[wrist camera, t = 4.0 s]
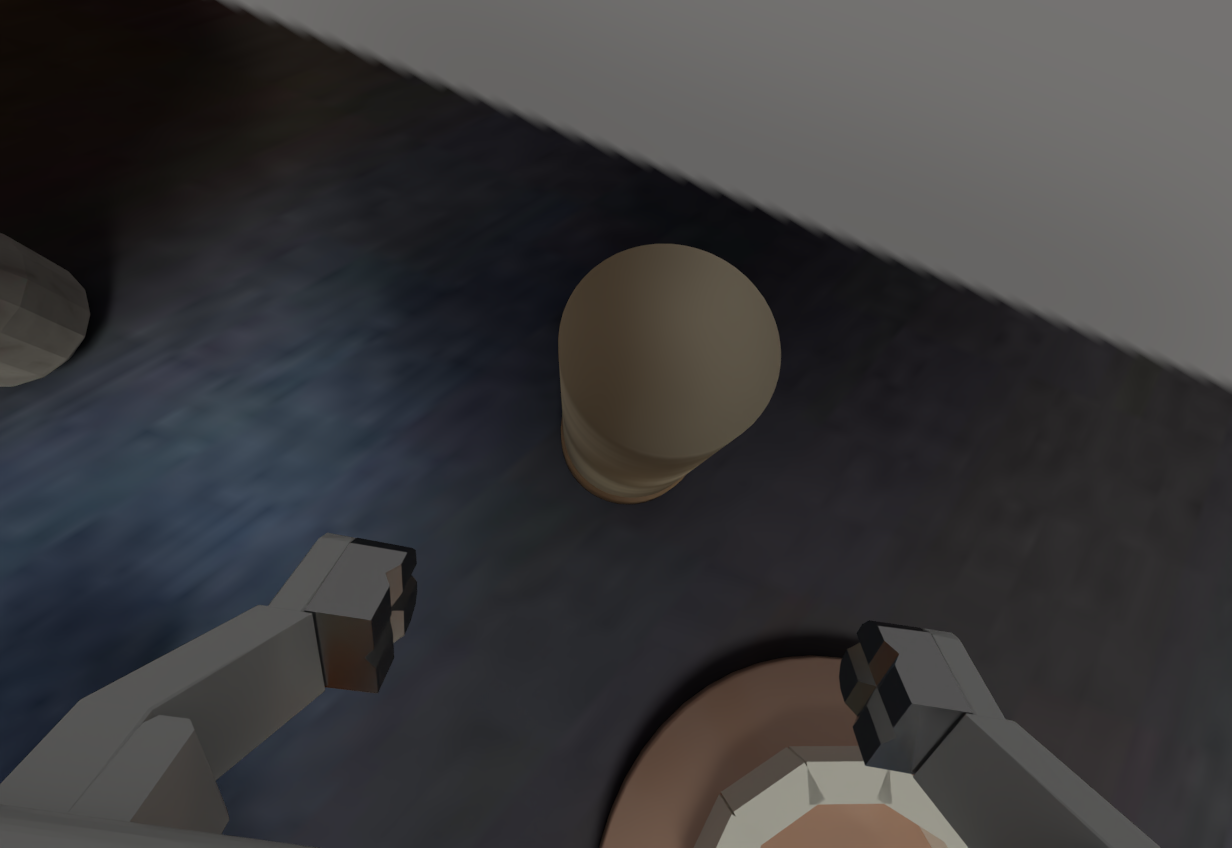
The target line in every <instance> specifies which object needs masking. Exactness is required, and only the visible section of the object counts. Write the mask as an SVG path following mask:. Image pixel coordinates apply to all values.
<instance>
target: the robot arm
mask: <svg viewBox="0 0 1232 848" xmlns="http://www.w3.org/2000/svg"><path fill="white" fill-rule="evenodd" d="M416 564H417V563H416V550H415V549H413V548H409V547H404V546H399V545H393V544H388V543H383V542H377V541H372V540H366V539H361V538H353V537H347V536H342V535H337V534H331V533H326V534H325V535H323V536H322V537H320V538H319V539H318V540H317V541H316V543H315V544H314V545H313V547H312V548H311V549H310V551H309V552H308V553H307V555H306V556H305V557H304V559H303V560H302V561H301V563H300V564H299V565H298V567H297V568H296V569H295V571H294V572H293V573H292V575H291V576H290V577H289V579H288V580H287V581H286V583H285V584H284V585H283V587H282V588H281V589H280V591H279V592H278V593H277V595H276V596H275V597H274V599H273V600H272V601H271V603H270V604H269V605H268V606H263V605H257V606H256V607H254V608H252V609H250V610H248V611H246V612H244V613H242V614H241V615H239V616H237V617H235V618H233V619H231V620H229V621H227V622H225V623H224V624H222V625H220V626H218V627H216V628H214V629H212V630H210V631H209V632H207V633H205V634H203V635H201V636H199V637H197V638H195V639H193V640H192V641H190V642H188V643H186V644H184V645H182V646H180V647H178V648H177V649H175V650H173V651H171V652H169V653H167V654H165V655H163V656H161V657H160V658H158V659H156V660H154V661H152V662H150V663H148V664H146V665H145V666H143V667H141V668H139V669H137V670H135V671H133V672H131V673H130V674H128V675H126V676H124V677H122V678H120V679H118V680H116V681H114V682H113V683H111V684H109V685H107V686H105V687H103V688H101V689H99V690H98V691H96V692H94V693H92V694H90V695H88V696H86V697H84V698H82V699H81V700H79V701H78V702H77V704H76V705H75V706H74V707H73V708H72V709H71V710H70V711H69V712H68V713H67V714H66V715H65V716H64V717H63V718H62V719H61V720H60V721H59V723H58V724H57V725H56V726H55V727H54V728H53V729H52V730H51V731H50V732H49V733H48V734H47V735H46V736H45V737H44V738H43V739H42V740H41V742H40V743H39V744H38V745H37V746H36V747H35V748H34V749H33V750H32V751H31V752H30V753H29V754H28V755H27V756H26V757H25V758H24V759H23V761H22V762H21V763H20V764H19V765H18V766H17V767H16V768H15V769H14V770H13V771H12V772H11V773H10V774H9V775H8V776H7V777H6V778H5V780H4V781H3V782H2V783H1V784H0V848H318V847H311V846H304V845H296V844H289V843H282V842H274V841H267V840H260V839H252V838H245V837H238V836H230V835H223V834H222V832H223V830H224V828H225V826H226V825H227V823H228V821H229V816H228V811H227V808H226V805H225V803H224V800H223V798H222V796H221V793H220V791H219V788H218V786H217V783H216V780H217V779H218V778H219V777H220V776H222V775H223V774H224V773H225V772H227V771H228V770H229V769H230V768H231V767H233V766H234V765H235V764H236V763H238V762H239V761H240V760H241V759H242V758H244V757H245V756H246V755H247V754H248V753H250V752H251V751H252V750H253V749H255V748H256V747H257V746H258V745H259V744H261V743H262V742H263V741H264V740H265V739H267V738H268V737H269V736H270V735H272V734H273V733H274V732H275V731H276V730H278V729H279V728H280V727H281V726H282V725H284V724H285V723H286V722H287V721H289V720H290V719H291V718H292V717H293V716H295V715H296V714H297V713H298V712H299V711H301V710H302V709H303V708H304V707H306V706H307V705H308V704H309V703H310V702H312V701H313V700H314V699H315V698H317V697H318V696H319V695H320V694H321V693H323V692H324V691H325V687H329V688H337V689H345V690H354V691H362V692H370V693H378V692H379V690H380V687H381V685H382V683H383V681H384V679H385V677H386V674H387V672H388V670H389V668H390V666H391V664H392V661H393V659H394V645H393V643H394V642H395V641H397V640H398V639H400V638H401V637H403V636H404V635H405V633H406V630H407V628H408V626H409V623H410V621H411V618H412V614H413V611H414V607H415V604H416V596H417V581H416V580H415V579H414V578H413V576H412V575H411V574H412V572H413V570H414V568H415V566H416ZM857 636H858V639H859V641H860V643H858V644H856V645H854V646H852V647H851V648H849V649H847V650H846V652H845V654H844V656H843V658H842V660H841V663H840V671H839V682H840V689H841V693H842V696H843V699H844V703H845V704H846V705H847V706H848V707H849V708H850V709H851V710H852V711H853V712H854V713H855V715H856V716H857V717H856V720H855V722H854V725H853V730H854V734H855V737H856V740H857V743H858V746H859V749H860V752H861V755H862V758H863V761H864V764H865V766H869V767H875V768H880V769H886V770H892V771H897V772H903V773H908V774H914V776H913V778H914V779H915V780H916V782H917V783H918V784H919V786H920V787H921V788H922V789H923V791H924V792H925V793H926V794H927V796H928V797H929V798H930V800H931V801H932V802H933V803H934V805H935V806H936V807H937V809H938V810H939V811H940V812H941V814H942V815H943V816H944V817H945V819H946V820H947V821H948V823H949V824H950V825H951V826H952V828H953V829H954V830H955V831H956V833H957V834H958V835H959V837H960V838H961V839H962V840H963V842H964V843H965V844H966V845H967V847H968V848H1161V847H1159V846H1158V845H1157V844H1156V843H1155V842H1154V841H1152V840H1151V839H1150V838H1149V837H1148V836H1147V835H1145V834H1144V833H1143V832H1142V831H1141V830H1140V829H1139V828H1137V827H1136V826H1135V825H1134V824H1133V823H1132V822H1130V821H1129V820H1128V819H1127V818H1126V817H1125V816H1123V815H1122V814H1121V813H1120V812H1119V811H1118V810H1117V809H1115V808H1114V807H1113V806H1112V805H1111V804H1110V803H1108V802H1107V801H1106V800H1105V799H1104V798H1103V797H1102V796H1100V795H1099V794H1098V793H1097V792H1096V791H1095V790H1093V789H1092V788H1091V787H1090V786H1089V785H1088V784H1086V783H1085V782H1084V781H1083V780H1082V779H1081V778H1080V777H1078V776H1077V775H1076V774H1075V773H1074V772H1073V771H1071V770H1070V769H1069V768H1068V767H1067V766H1066V765H1064V764H1063V763H1062V762H1061V761H1060V760H1059V759H1058V758H1056V757H1055V756H1054V755H1053V754H1052V753H1051V752H1049V751H1048V750H1047V749H1046V748H1045V747H1044V746H1043V745H1041V744H1040V743H1039V742H1038V741H1037V740H1036V739H1034V738H1033V737H1032V736H1031V735H1030V734H1029V733H1027V732H1026V731H1025V730H1024V729H1023V728H1022V727H1021V726H1019V725H1018V724H1017V723H1016V722H1015V721H1011V720H1006V719H1005V718H1004V716H1003V714H1002V713H1001V711H1000V709H999V707H998V706H997V704H996V702H995V700H994V699H993V697H992V695H991V693H990V692H989V690H988V688H987V687H986V685H985V683H984V681H983V680H982V678H981V676H980V674H979V673H978V671H977V669H976V667H975V666H974V664H973V662H972V660H971V659H970V657H969V655H968V654H967V652H966V650H965V648H964V647H963V645H962V643H961V641H960V640H959V639H958V638H957V637H956V636H955V635H954V634H953V633H949V632H943V631H936V630H930V629H921V628H918V627H911V626H904V625H897V624H891V623H884V622H877V621H870V620H869V621H867V622H865V623H864V624H862V626H861V627H860V629H859V630H858V632H857Z"/></svg>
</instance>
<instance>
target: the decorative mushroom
mask: <svg viewBox="0 0 1232 848" xmlns="http://www.w3.org/2000/svg"><path fill="white" fill-rule="evenodd" d="M89 318H90V310H89V305H88V301H87V296H86V292H85V289H84V288H83V287H82V286H81V285H80V284H79V282H78V281H77V280H76V279H75V278H74V277H73V276H72V275H71V274H70V272H69V271H67V270H65V269H63V268H62V267H60V266H58V265H57V264H55V263H53V262H51V261H50V260H48V259H46V258H44V257H43V256H41V255H39V254H37V253H36V252H34V251H32V250H31V249H29V248H27V247H25V246H24V245H22V244H20V243H18V242H17V241H15V240H13V239H12V238H10V237H8V236H6V235H5V234H2V233H0V387H13V386H17V385H20V384H23V383H26V382H30V381H33V380H36V379H39V378H43V377H45V376H46V375H48V374H49V373H51V372H52V371H54V370H55V369H56V368H58V367H59V366H61V365H62V364H63V363H65V362H66V361H68V360H69V359H70V358H71V356H72V355H73V354H74V352H75V351H76V349H77V348H78V347H79V345H80V344H81V342H82V341H83V340H84V338H85V335H86V331H87V327H88V323H89Z"/></svg>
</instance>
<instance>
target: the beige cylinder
mask: <svg viewBox="0 0 1232 848" xmlns="http://www.w3.org/2000/svg"><path fill="white" fill-rule="evenodd" d="M558 353H559V369H560V384H561V400H562V415H563V416H562V422H561V441H562V449H563V454H564V458H565V461H566V463H567V466H568V468H569V470H570V471H571V473H572V475H573V476H574V477H575V479H576V480H577V481H578V482H579V483H580V484H581V485H582V486H583V487H584V488H585V489H586V490H587V491H589V492H590V493H592V494H593V495H595V496H597V497H599V498H601V499H603V500H606V501H609V502H613V503H617V504H638V503H644V502H647V501H650V500H653V499H655V498H657V497H659V496H661V495H662V494H664V493H666V492H667V491H668V490H670V489H671V488H673V487H674V486H675V485H676V484H678V483H679V482H680V481H681V480H682V479H683V478H684V477H685V475H686V474H687V473H689V472H690V471H691V470H693V469H694V468H695V467H697V466H698V465H700V464H701V463H702V462H704V461H705V460H706V459H708V458H709V457H710V456H712V455H713V454H715V453H716V452H717V451H719V450H720V449H721V448H723V447H724V446H726V445H727V444H728V443H730V442H731V441H732V440H734V439H735V438H736V437H738V436H739V435H741V434H742V433H743V432H744V431H745V430H747V429H748V428H749V427H750V426H751V425H752V424H753V423H754V422H755V421H756V420H757V419H758V417H759V416H760V415H761V414H762V412H763V411H764V409H765V408H766V406H767V405H768V403H769V401H770V399H771V397H772V395H773V393H774V390H775V387H776V384H777V381H778V377H779V371H780V365H781V346H780V338H779V333H778V329H777V325H776V322H775V319H774V317H773V315H772V312H771V310H770V308H769V306H768V304H767V303H766V301H765V299H764V297H763V296H762V295H761V293H760V292H759V291H758V289H757V288H756V286H755V285H754V284H753V283H752V282H751V281H750V280H749V279H748V278H747V277H746V276H745V275H744V274H743V273H741V272H740V271H739V270H738V269H737V268H735V267H734V266H732V265H731V264H729V263H728V262H726V261H725V260H723V259H721V258H719V257H717V256H715V255H713V254H711V253H709V252H706V251H703V250H700V249H697V248H693V247H689V246H685V245H677V244H650V245H643V246H638V247H634V248H630V249H627V250H625V251H622V252H620V253H617V254H615V255H613V256H611V257H610V258H608V259H606V260H604V261H603V262H601V263H600V264H599V265H597V266H596V267H594V268H593V269H592V270H591V271H590V272H589V273H588V274H587V275H586V276H585V277H584V278H583V279H582V280H581V282H580V283H579V284H578V285H577V287H576V288H575V289H574V291H573V293H572V294H571V296H570V298H569V300H568V302H567V304H566V307H565V309H564V311H563V315H562V319H561V323H560V328H559V336H558Z"/></svg>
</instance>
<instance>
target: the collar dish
mask: <svg viewBox="0 0 1232 848" xmlns="http://www.w3.org/2000/svg"><path fill="white" fill-rule="evenodd" d="M841 660H842V658H839V657H827V656H814V655H809V656H794V657H783V658H778V659H774V660H769V661H764V662H760V663H756V664H753V665H751V666H748V667H745V668H743V669H740V670H737V671H735V672H732V673H730V674H728V675H726V676H724V677H723V678H721V679H719V680H717V681H715V682H713V683H712V684H710V685H708V686H706V687H705V688H704V689H702V690H701V691H699V692H698V693H697V694H695V695H694V696H693V697H691V698H690V699H689V700H687V701H686V702H685V703H683V704H682V705H681V706H680V707H679V708H678V709H677V710H676V711H675V712H674V713H673V714H672V715H671V716H670V717H669V718H668V719H667V720H666V721H665V722H664V723H663V724H662V725H661V726H660V727H659V728H658V730H657V731H656V732H655V734H654V735H653V736H652V737H651V739H650V740H649V741H648V742H647V744H646V745H645V746H644V748H643V749H642V750H641V752H640V753H639V755H638V757H637V758H636V760H635V762H634V763H633V765H632V767H631V768H630V770H629V772H628V773H627V775H626V777H625V778H624V781H623V783H622V785H621V787H620V790H619V792H618V794H617V796H616V799H615V801H614V803H613V805H612V807H611V810H610V813H609V816H608V820H607V823H606V826H605V829H604V832H603V835H602V839H601V842H600V846H599V848H968V847H967V845H966V844H965V843H964V842H963V840H962V839H961V838H960V837H959V835H958V834H957V833H956V831H955V830H954V829H953V828H952V826H951V825H950V824H949V823H948V821H947V820H946V819H945V817H944V816H943V815H942V814H941V812H940V811H939V810H938V809H937V807H936V806H935V805H934V803H933V802H932V801H931V800H930V798H929V797H928V796H927V794H926V793H925V792H924V791H923V789H922V788H921V787H920V786H919V784H918V783H917V782H916V780H915V779H914V778H913V776H914V774H908V773H903V772H897V771H892V770H886V769H880V768H875V767H869V766H865V764H864V761H863V758H862V755H861V752H860V749H859V746H858V743H857V740H856V737H855V734H854V730H853V725H854V722H855V720H856V717H857V716H856V715H855V713H854V712H853V711H852V710H851V709H850V708H849V707H848V706H847V705H846V704H845V703H844V699H843V696H842V693H841V689H840V682H839V671H840V663H841Z"/></svg>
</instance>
